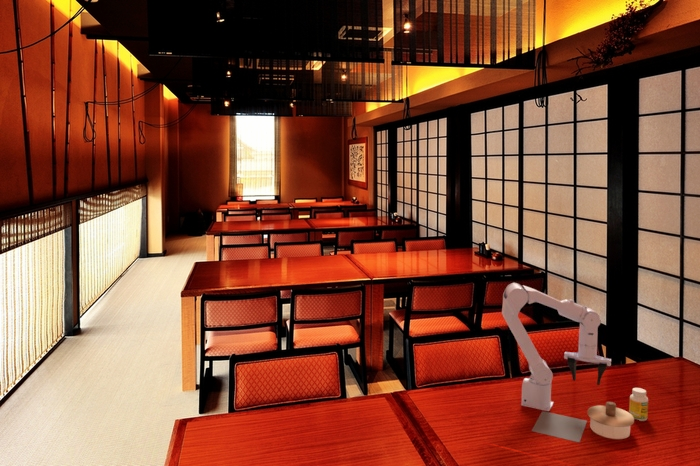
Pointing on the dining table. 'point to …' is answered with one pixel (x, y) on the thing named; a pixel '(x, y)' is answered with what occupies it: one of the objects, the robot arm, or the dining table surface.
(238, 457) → the dining table surface
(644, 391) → the supplement bottle
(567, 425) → the mat
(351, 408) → the dining table surface
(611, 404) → the lid
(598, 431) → the bowl
